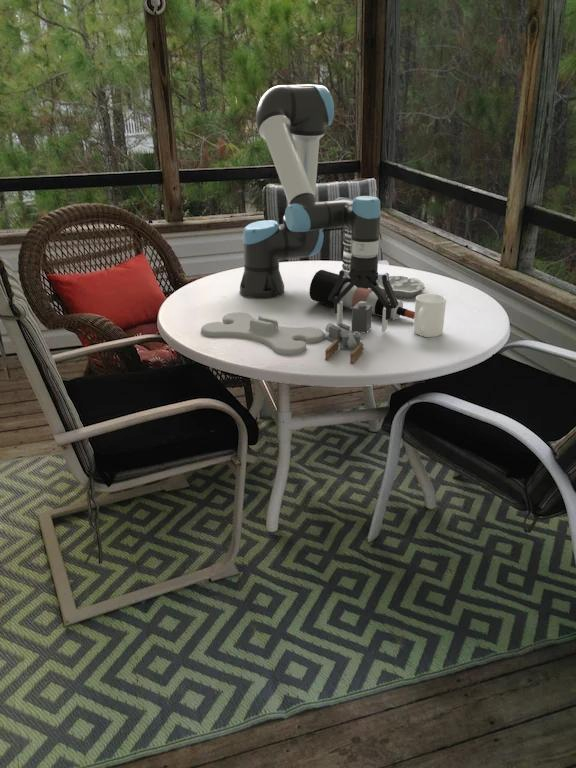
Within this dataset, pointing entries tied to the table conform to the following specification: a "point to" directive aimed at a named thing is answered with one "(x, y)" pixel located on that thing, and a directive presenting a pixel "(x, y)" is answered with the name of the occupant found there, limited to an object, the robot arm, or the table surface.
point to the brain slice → (403, 286)
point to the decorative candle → (347, 249)
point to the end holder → (334, 348)
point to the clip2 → (349, 341)
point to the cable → (351, 295)
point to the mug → (429, 315)
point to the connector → (361, 317)
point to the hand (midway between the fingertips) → (361, 327)
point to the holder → (264, 332)
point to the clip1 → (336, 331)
